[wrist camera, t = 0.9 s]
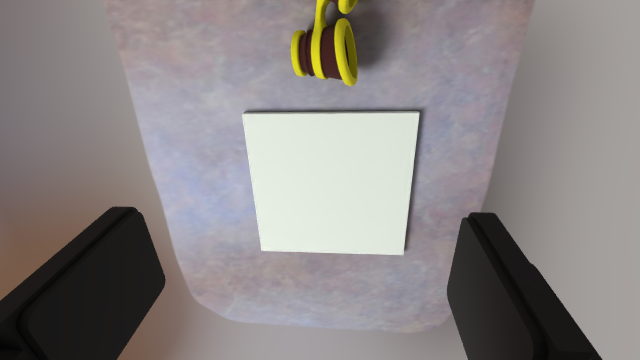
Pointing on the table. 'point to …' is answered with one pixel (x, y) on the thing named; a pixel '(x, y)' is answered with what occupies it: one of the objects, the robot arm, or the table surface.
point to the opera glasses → (326, 47)
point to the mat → (332, 179)
